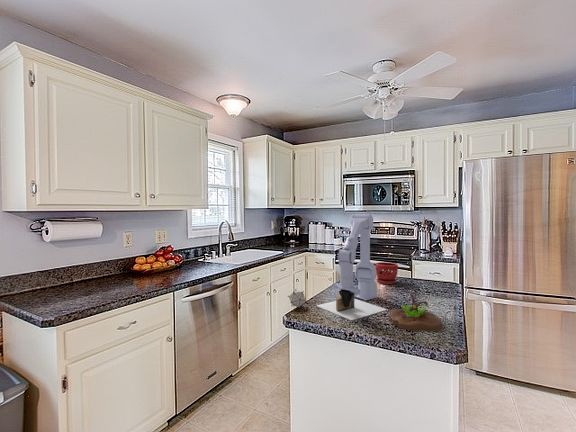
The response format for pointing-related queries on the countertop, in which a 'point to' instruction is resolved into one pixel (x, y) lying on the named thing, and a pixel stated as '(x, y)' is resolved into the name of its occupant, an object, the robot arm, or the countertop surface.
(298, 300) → the game die
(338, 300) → the brown wooden board
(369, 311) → the card
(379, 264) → the plant pot
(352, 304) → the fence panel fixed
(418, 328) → the plant
